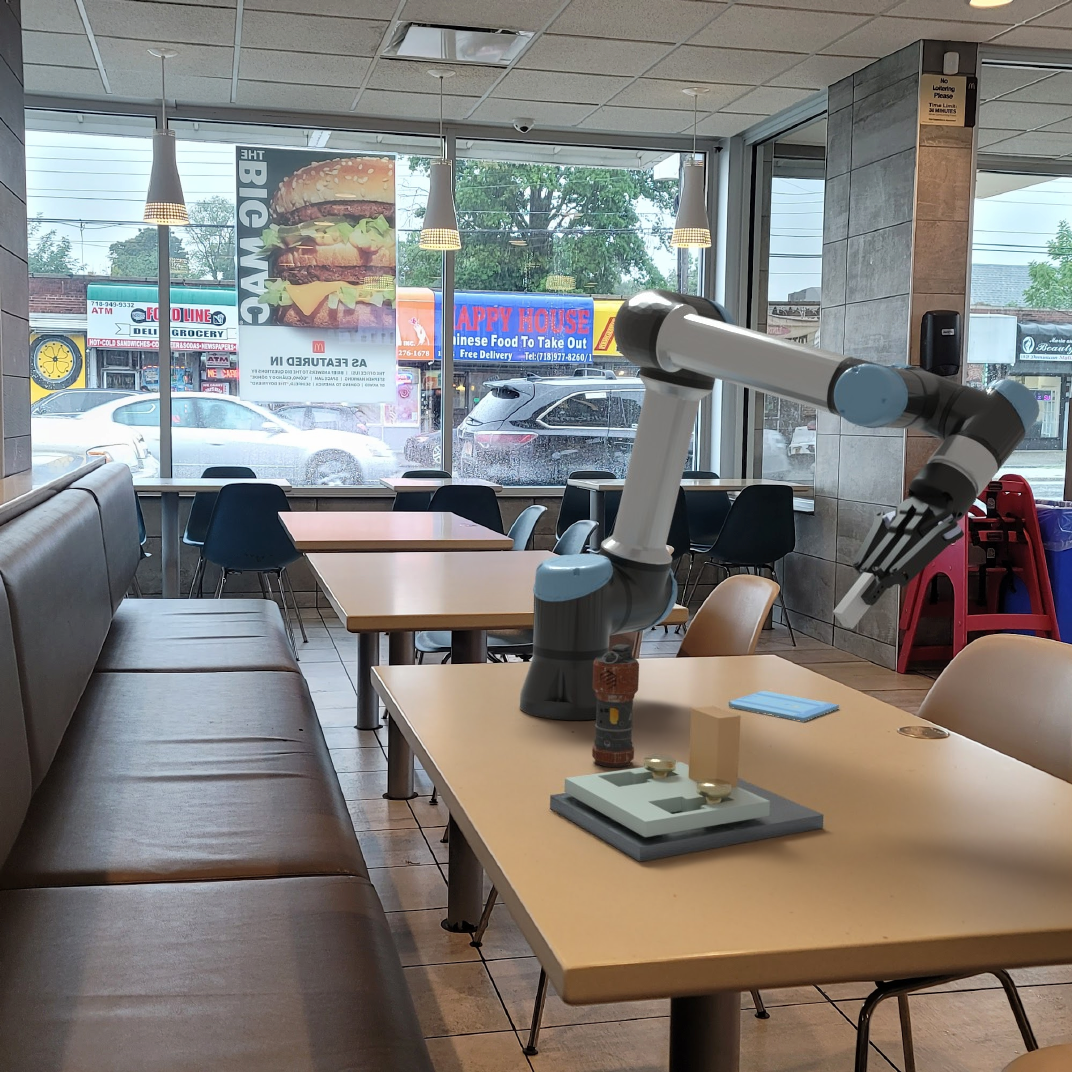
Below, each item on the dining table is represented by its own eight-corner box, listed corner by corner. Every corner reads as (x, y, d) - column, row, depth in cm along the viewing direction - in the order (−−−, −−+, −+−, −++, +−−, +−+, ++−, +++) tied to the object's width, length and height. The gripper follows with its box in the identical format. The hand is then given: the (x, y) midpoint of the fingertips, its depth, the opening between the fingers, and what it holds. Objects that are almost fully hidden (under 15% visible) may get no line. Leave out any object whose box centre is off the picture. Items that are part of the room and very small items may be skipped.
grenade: (646, 757, 152) (650, 644, 150) (625, 772, 145) (629, 654, 143) (604, 751, 154) (608, 640, 153) (582, 765, 147) (586, 649, 146)
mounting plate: (550, 808, 130) (551, 762, 129) (720, 782, 141) (722, 740, 141) (639, 861, 114) (641, 809, 114) (822, 828, 126) (825, 780, 125)
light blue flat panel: (725, 709, 182) (725, 701, 182) (762, 697, 191) (763, 690, 191) (803, 725, 173) (803, 717, 173) (838, 712, 182) (839, 704, 182)
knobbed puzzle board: (564, 791, 129) (567, 707, 128) (680, 775, 137) (683, 695, 136) (644, 837, 115) (648, 743, 114) (769, 815, 123) (773, 727, 122)
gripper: (1008, 506, 139) (898, 651, 133) (924, 498, 150) (820, 631, 144) (980, 461, 136) (867, 607, 130) (897, 457, 147) (789, 591, 141)
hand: (842, 620), depth 137 cm, fingers closed
